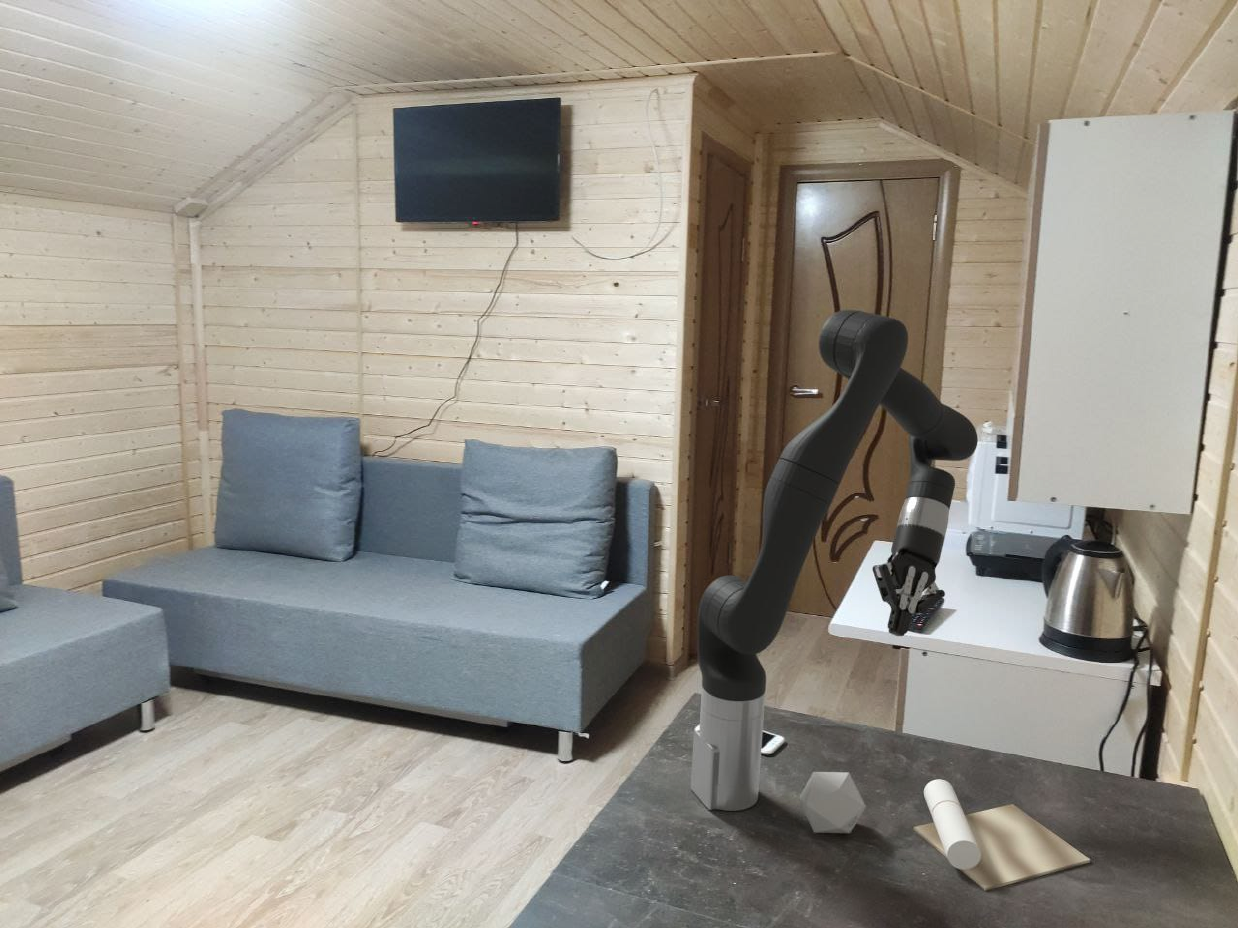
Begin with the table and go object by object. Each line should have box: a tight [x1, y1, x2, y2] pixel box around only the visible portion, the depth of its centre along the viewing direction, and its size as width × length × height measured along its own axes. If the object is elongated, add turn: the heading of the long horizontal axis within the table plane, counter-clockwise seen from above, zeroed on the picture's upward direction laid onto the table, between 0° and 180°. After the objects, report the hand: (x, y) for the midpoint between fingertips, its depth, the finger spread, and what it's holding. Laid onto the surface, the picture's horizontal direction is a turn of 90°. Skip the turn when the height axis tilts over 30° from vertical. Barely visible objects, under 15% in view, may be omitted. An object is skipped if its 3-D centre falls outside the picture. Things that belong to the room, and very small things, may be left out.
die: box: [798, 771, 867, 834], centre depth 131 cm, size 8×9×10 cm
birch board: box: [913, 804, 1091, 892], centre depth 129 cm, size 18×14×1 cm
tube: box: [923, 778, 981, 870], centre depth 130 cm, size 4×4×15 cm
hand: (896, 634), depth 144 cm, fingers closed
